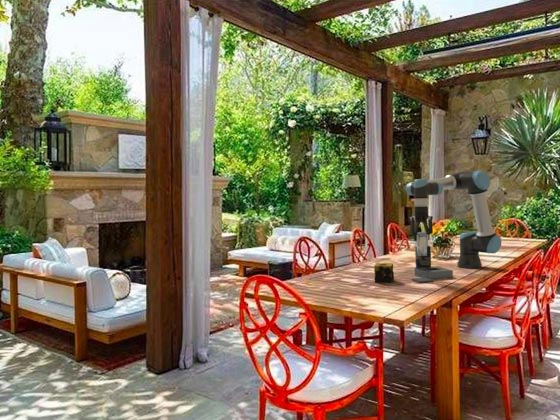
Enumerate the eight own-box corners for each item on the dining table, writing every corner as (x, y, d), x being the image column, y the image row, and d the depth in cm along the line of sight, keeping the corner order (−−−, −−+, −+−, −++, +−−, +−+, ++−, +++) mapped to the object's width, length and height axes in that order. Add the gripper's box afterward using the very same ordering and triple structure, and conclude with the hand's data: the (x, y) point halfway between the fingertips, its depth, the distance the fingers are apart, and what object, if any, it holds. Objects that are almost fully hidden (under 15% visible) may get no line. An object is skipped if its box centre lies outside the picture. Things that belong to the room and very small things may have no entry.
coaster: (425, 279, 282) (425, 277, 282) (433, 281, 273) (433, 280, 273) (411, 280, 280) (411, 278, 280) (419, 283, 271) (419, 281, 271)
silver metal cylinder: (423, 254, 279) (423, 232, 279) (428, 255, 274) (428, 233, 273) (415, 255, 278) (414, 232, 277) (420, 256, 272) (419, 233, 272)
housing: (437, 273, 299) (437, 266, 298) (452, 277, 283) (452, 270, 283) (414, 275, 295) (414, 268, 295) (428, 279, 279) (428, 272, 279)
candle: (394, 280, 283) (393, 263, 282) (392, 283, 273) (392, 265, 273) (376, 279, 286) (376, 262, 286) (374, 282, 276) (373, 265, 276)
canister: (432, 273, 298) (431, 245, 298) (416, 273, 300) (415, 245, 300) (430, 271, 308) (429, 243, 307) (415, 271, 310) (414, 243, 309)
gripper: (432, 205, 280) (432, 244, 281) (403, 206, 276) (403, 246, 277) (439, 205, 273) (439, 246, 274) (409, 206, 269) (410, 247, 270)
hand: (421, 246), depth 275 cm, fingers closed on silver metal cylinder, 6 cm apart
